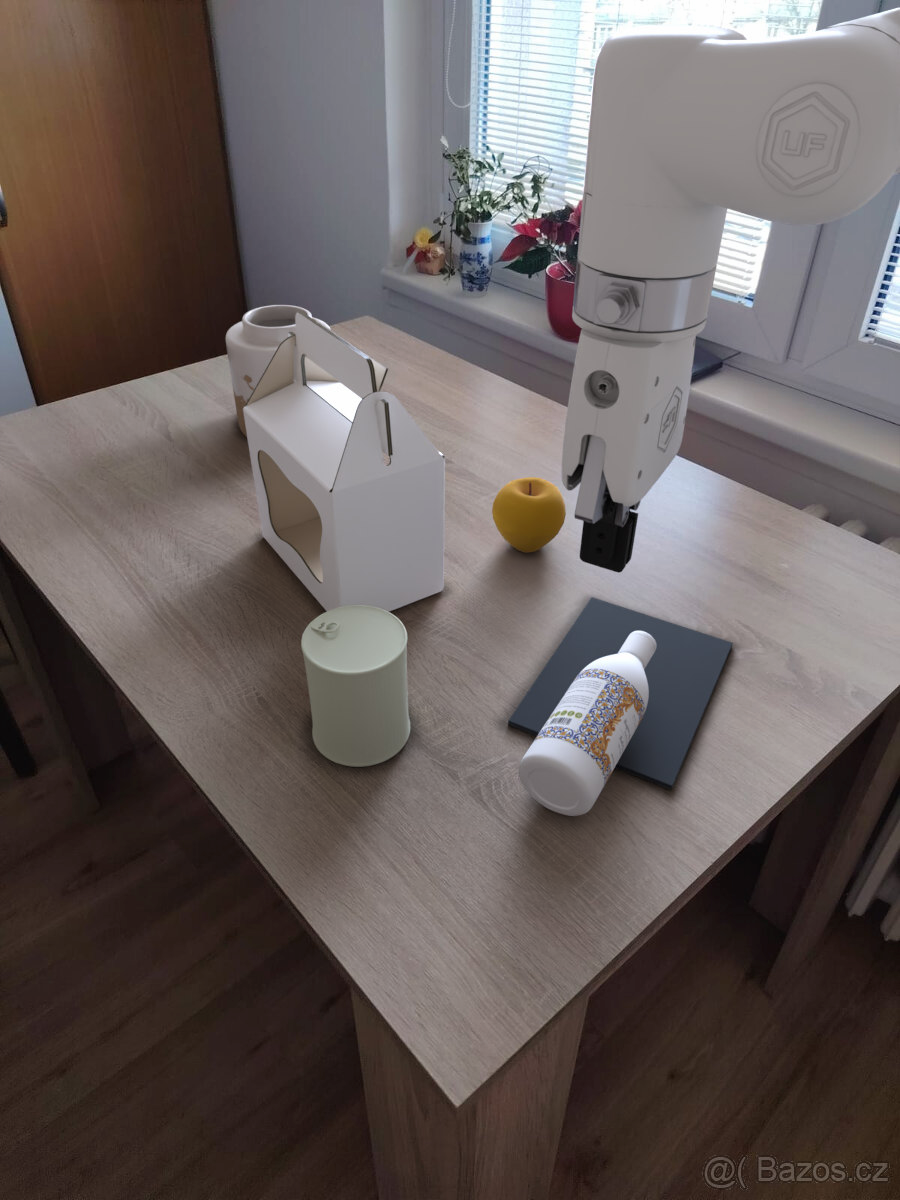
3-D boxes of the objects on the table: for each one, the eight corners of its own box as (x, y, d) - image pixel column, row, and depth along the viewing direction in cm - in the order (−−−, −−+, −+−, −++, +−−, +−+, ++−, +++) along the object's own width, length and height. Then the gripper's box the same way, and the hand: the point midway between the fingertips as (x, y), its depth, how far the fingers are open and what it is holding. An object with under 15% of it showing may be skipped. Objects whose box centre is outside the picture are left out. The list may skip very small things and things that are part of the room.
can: (341, 685, 83) (332, 590, 75) (426, 711, 80) (425, 615, 73) (294, 749, 76) (278, 652, 69) (384, 780, 73) (378, 682, 66)
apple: (515, 517, 108) (519, 456, 102) (575, 540, 104) (583, 477, 98) (476, 549, 102) (479, 485, 96) (539, 574, 98) (545, 510, 92)
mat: (671, 790, 73) (672, 786, 73) (507, 724, 79) (508, 720, 78) (731, 646, 88) (733, 642, 88) (591, 600, 94) (591, 596, 94)
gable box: (445, 592, 95) (448, 357, 78) (343, 632, 89) (321, 387, 72) (354, 505, 109) (339, 291, 92) (261, 535, 104) (226, 312, 86)
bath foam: (585, 772, 65) (675, 620, 77) (509, 749, 68) (606, 607, 81) (595, 829, 69) (679, 675, 81) (523, 804, 72) (613, 661, 85)
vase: (288, 394, 136) (277, 291, 126) (359, 419, 130) (352, 312, 119) (218, 427, 127) (199, 319, 116) (290, 456, 120) (276, 344, 109)
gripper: (662, 349, 40) (615, 639, 51) (743, 269, 50) (690, 526, 61) (522, 322, 43) (507, 601, 54) (626, 252, 53) (595, 499, 64)
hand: (604, 560), depth 58 cm, fingers closed
